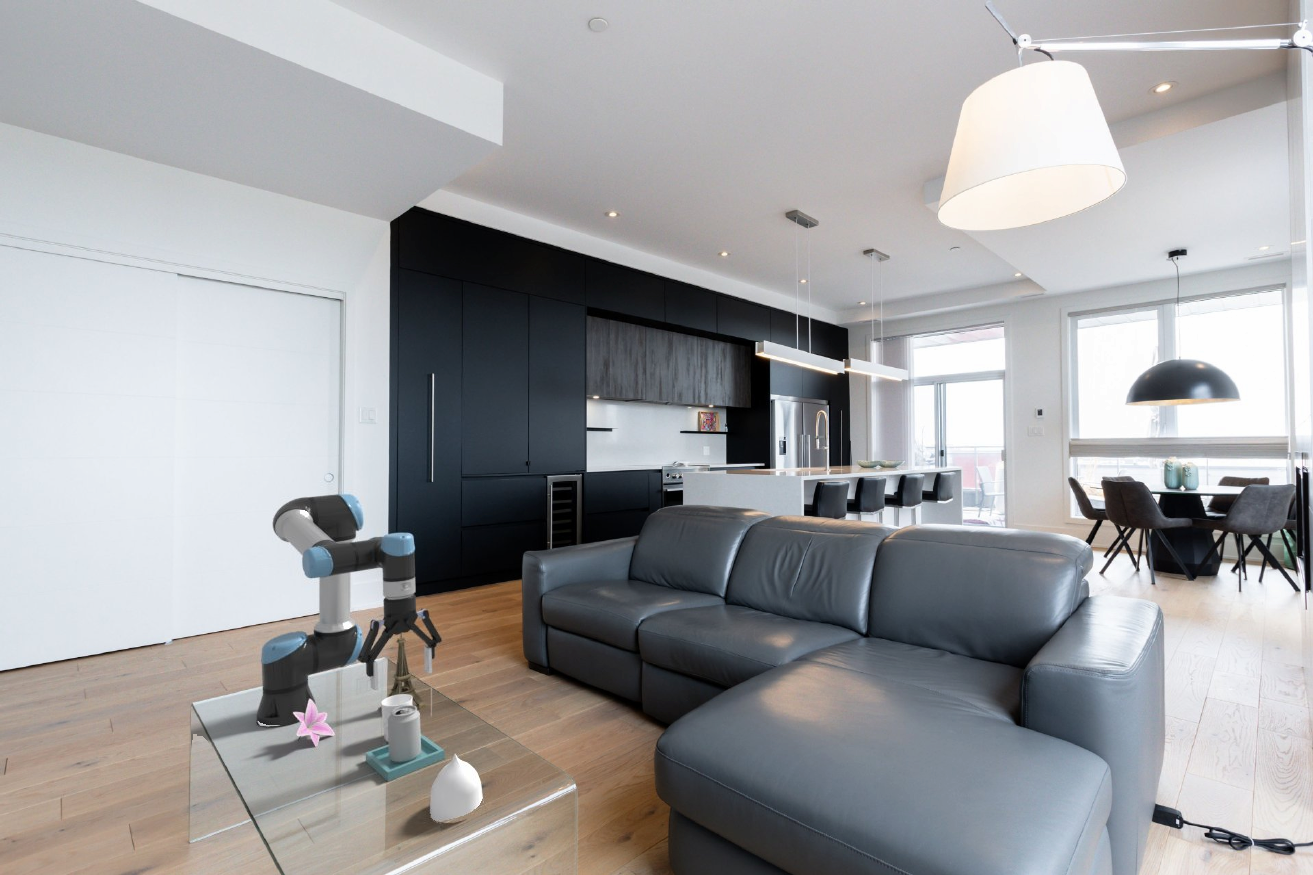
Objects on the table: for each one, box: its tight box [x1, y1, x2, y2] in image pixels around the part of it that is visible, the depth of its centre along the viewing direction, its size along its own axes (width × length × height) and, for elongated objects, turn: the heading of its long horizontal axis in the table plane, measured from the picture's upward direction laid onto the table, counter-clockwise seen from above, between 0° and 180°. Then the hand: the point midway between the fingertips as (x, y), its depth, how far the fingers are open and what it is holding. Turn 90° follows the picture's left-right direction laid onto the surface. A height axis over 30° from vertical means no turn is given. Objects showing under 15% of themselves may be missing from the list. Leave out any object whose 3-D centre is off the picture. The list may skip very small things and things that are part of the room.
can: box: [387, 705, 422, 763], centre depth 157 cm, size 8×8×12 cm
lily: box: [293, 699, 336, 748], centre depth 169 cm, size 12×12×10 cm
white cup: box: [380, 694, 414, 743], centre depth 170 cm, size 8×8×10 cm
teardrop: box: [429, 753, 484, 822], centre depth 135 cm, size 11×11×12 cm
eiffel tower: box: [378, 633, 429, 711], centre depth 189 cm, size 11×11×25 cm
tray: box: [365, 733, 445, 782], centre depth 157 cm, size 14×14×2 cm
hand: (402, 680), depth 157 cm, fingers open, 13 cm apart
